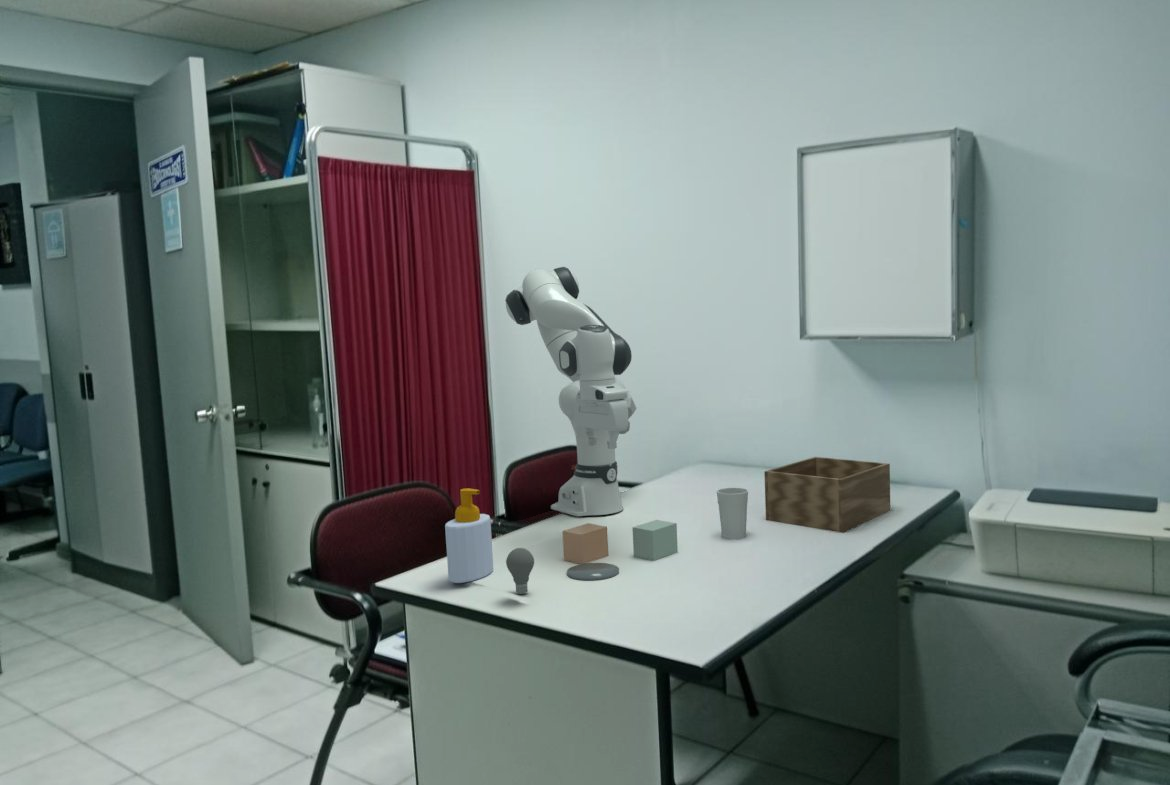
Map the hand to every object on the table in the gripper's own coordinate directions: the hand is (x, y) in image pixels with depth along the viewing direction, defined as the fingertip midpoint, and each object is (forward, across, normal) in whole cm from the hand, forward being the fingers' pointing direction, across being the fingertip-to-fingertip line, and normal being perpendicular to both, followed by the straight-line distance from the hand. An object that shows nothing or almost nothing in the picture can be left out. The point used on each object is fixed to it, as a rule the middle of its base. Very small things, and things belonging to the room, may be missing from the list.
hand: (601, 447), depth 226 cm
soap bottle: (+26, -4, -36) cm, 44 cm away
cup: (+27, +9, +32) cm, 43 cm away
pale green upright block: (+26, +10, +7) cm, 29 cm away
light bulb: (+26, +16, -32) cm, 45 cm away
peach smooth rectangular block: (+26, +1, -7) cm, 27 cm away
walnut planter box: (+27, +11, +64) cm, 70 cm away
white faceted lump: (+25, -44, +27) cm, 58 cm away
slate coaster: (+26, +13, -12) cm, 32 cm away
